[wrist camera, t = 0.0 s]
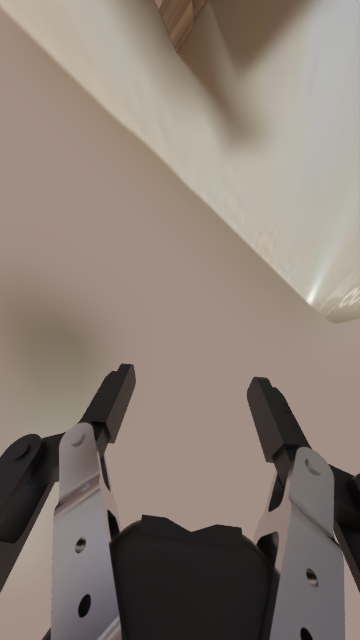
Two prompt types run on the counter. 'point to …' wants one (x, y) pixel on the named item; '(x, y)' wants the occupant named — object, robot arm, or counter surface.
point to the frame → (178, 17)
